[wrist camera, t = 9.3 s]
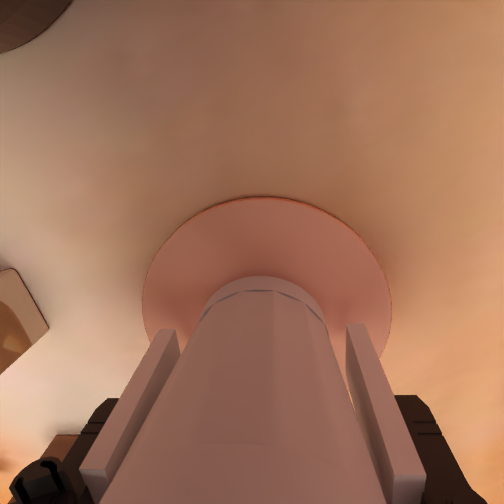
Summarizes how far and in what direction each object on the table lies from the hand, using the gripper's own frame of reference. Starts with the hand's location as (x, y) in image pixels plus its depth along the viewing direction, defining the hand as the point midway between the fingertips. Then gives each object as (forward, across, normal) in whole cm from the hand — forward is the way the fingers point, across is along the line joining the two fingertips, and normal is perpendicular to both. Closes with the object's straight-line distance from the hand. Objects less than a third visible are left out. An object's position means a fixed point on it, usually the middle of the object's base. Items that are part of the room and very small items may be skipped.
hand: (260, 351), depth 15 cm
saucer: (+3, 0, 0) cm, 3 cm away
